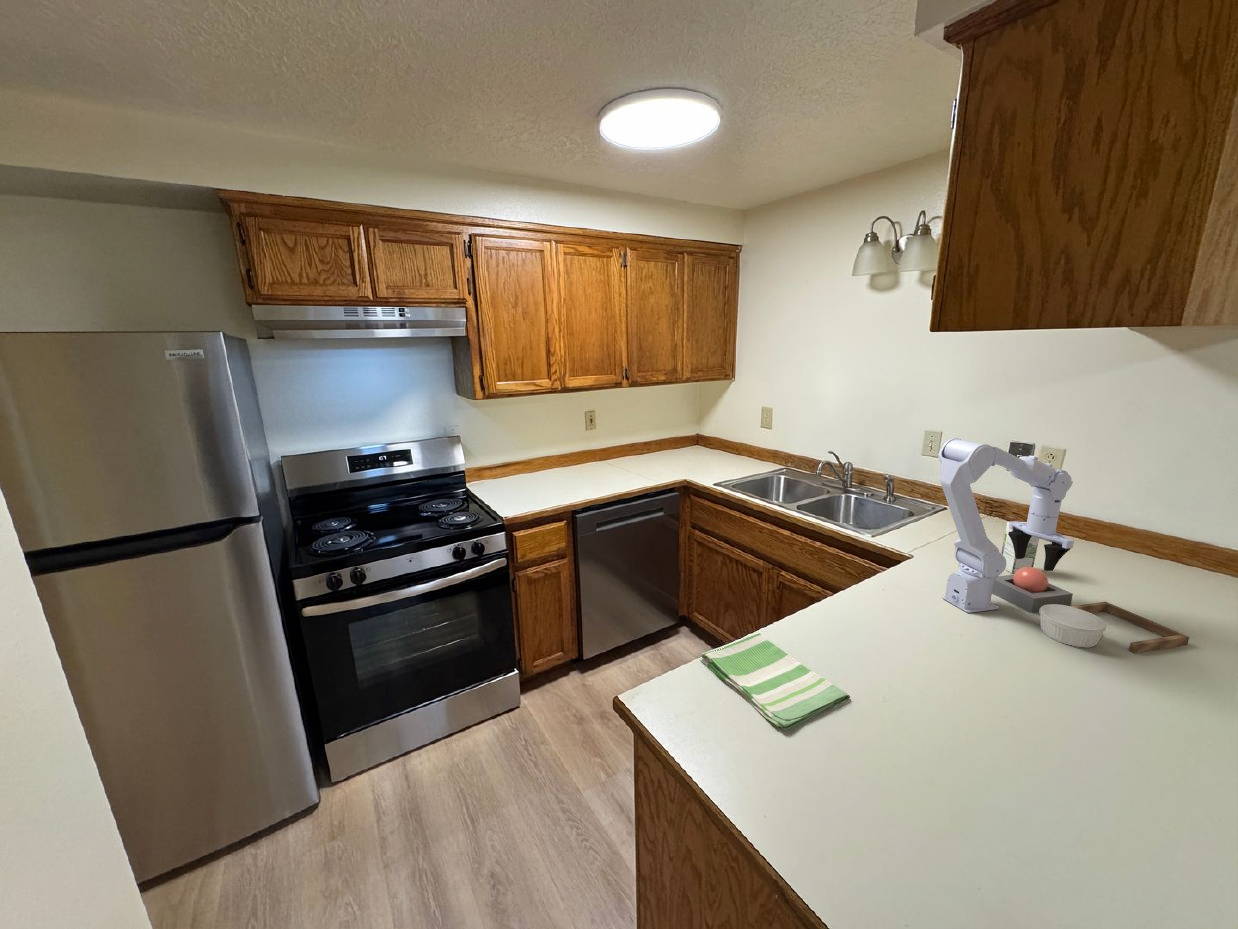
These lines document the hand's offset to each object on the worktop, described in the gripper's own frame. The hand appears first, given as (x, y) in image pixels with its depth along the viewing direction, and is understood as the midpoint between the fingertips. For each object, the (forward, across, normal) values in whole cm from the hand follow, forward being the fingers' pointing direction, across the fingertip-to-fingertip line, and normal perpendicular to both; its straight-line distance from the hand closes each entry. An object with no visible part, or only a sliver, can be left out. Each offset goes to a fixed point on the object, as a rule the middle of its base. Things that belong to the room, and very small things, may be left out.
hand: (1033, 564), depth 125 cm
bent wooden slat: (+10, -16, -6) cm, 20 cm away
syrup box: (+10, +15, -14) cm, 23 cm away
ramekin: (+10, -16, +8) cm, 21 cm away
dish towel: (+11, -16, +82) cm, 84 cm away
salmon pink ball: (+8, 0, 0) cm, 8 cm away
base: (+10, 0, 0) cm, 10 cm away
